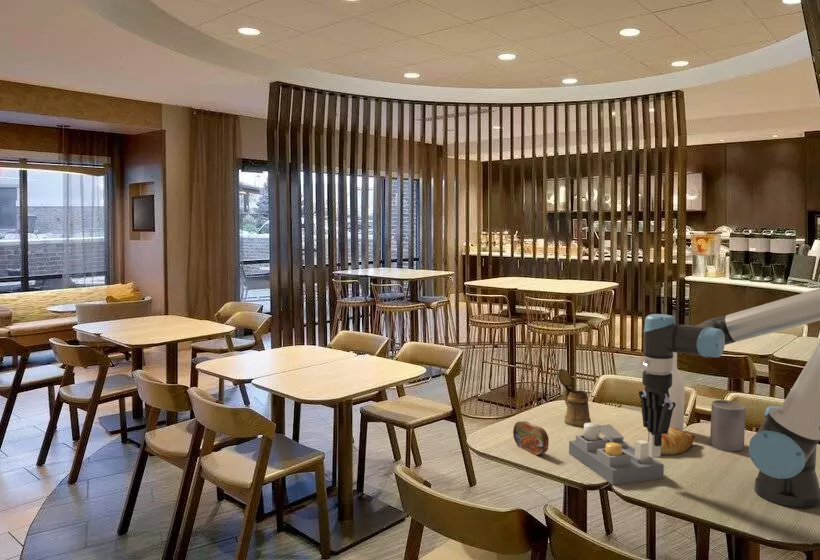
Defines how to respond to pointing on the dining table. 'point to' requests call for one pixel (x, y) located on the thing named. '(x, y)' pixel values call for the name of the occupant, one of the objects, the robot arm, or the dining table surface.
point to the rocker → (611, 433)
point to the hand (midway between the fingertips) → (654, 455)
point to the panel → (615, 461)
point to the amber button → (613, 449)
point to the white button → (591, 431)
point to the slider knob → (641, 449)
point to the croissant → (675, 441)
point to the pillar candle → (727, 425)
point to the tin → (531, 437)
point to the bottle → (677, 396)
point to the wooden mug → (574, 402)
